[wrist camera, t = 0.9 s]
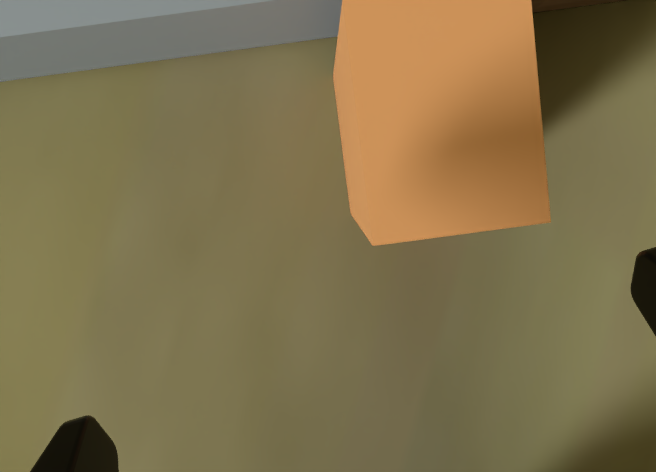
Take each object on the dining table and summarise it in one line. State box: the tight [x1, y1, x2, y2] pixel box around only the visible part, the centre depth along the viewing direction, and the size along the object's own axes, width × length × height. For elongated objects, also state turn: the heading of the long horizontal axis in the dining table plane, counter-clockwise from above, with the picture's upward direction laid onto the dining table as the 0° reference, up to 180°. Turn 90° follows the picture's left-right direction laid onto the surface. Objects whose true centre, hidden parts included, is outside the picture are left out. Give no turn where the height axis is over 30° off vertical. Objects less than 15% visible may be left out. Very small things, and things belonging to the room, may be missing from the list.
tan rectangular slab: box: [333, 0, 551, 246], centre depth 19 cm, size 6×4×11 cm
